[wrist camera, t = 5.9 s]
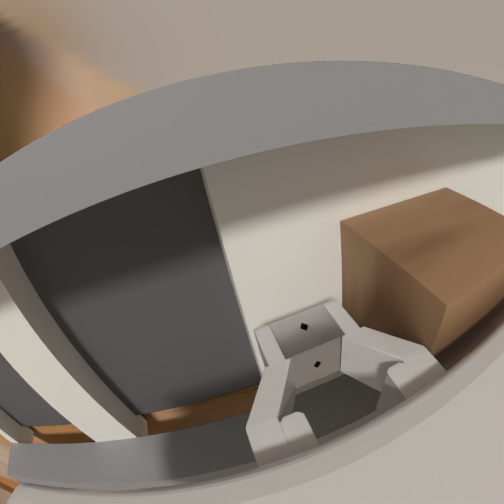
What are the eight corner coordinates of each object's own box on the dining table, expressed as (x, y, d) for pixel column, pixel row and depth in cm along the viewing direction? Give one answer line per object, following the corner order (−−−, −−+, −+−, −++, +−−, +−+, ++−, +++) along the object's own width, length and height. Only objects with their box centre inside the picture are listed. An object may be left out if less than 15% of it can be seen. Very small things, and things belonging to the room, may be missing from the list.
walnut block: (430, 291, 13) (491, 346, 9) (341, 337, 12) (399, 418, 8) (446, 187, 10) (535, 234, 6) (339, 220, 9) (447, 306, 5)
